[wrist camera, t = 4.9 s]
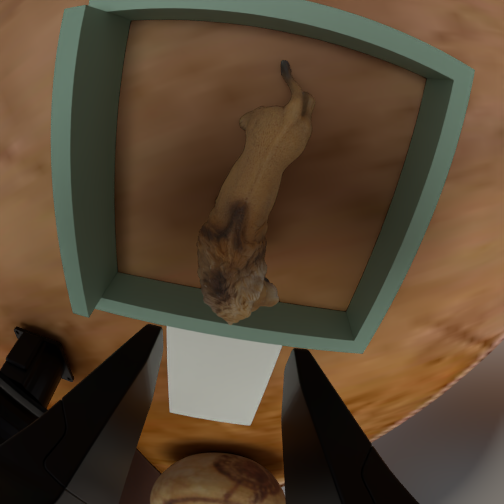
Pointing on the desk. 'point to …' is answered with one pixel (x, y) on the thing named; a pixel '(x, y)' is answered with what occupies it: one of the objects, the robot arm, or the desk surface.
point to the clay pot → (216, 482)
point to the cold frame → (103, 168)
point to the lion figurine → (251, 207)
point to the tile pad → (217, 375)
